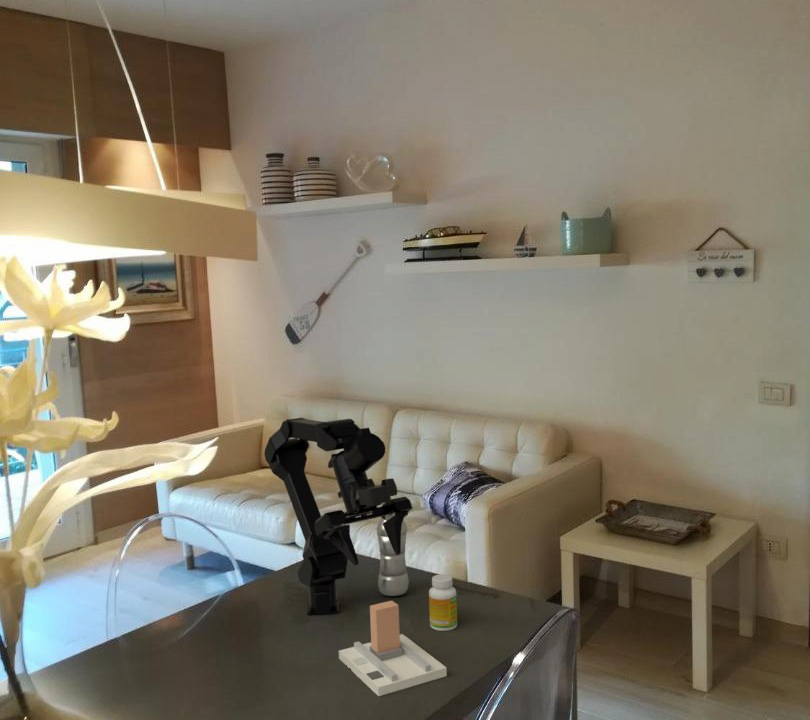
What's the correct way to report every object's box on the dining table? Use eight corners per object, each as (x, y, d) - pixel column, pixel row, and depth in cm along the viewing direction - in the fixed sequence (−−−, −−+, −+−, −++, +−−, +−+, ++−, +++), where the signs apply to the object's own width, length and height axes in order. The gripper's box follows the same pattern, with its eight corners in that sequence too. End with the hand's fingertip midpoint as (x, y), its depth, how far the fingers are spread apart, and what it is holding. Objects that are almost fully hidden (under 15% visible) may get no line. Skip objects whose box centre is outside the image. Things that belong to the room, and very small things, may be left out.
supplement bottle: (455, 632, 156) (453, 583, 155) (427, 631, 157) (426, 582, 156) (459, 621, 161) (457, 573, 160) (432, 619, 162) (430, 572, 161)
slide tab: (369, 653, 145) (367, 604, 144) (391, 647, 147) (390, 599, 146) (379, 661, 141) (378, 611, 140) (402, 655, 143) (400, 606, 142)
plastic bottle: (381, 588, 180) (377, 500, 178) (411, 588, 179) (408, 500, 177) (375, 599, 174) (372, 508, 172) (407, 600, 173) (404, 508, 171)
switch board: (339, 658, 146) (338, 645, 146) (402, 641, 152) (402, 628, 152) (378, 696, 132) (377, 681, 132) (446, 676, 138) (446, 661, 138)
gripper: (326, 473, 144) (352, 558, 138) (412, 458, 154) (440, 536, 149) (303, 494, 152) (327, 575, 147) (386, 478, 163) (411, 553, 157)
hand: (378, 559), depth 150 cm, fingers open, 9 cm apart
